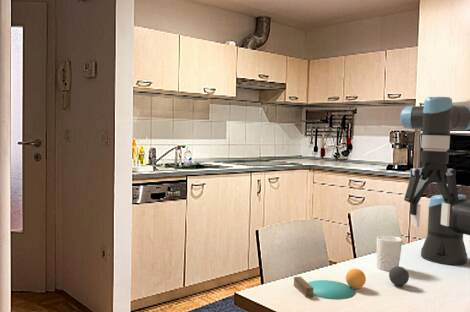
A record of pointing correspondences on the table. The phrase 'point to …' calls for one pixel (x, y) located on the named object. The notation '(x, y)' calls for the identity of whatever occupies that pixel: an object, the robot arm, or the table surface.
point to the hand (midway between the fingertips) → (430, 225)
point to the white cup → (388, 252)
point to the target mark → (331, 289)
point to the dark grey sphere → (399, 276)
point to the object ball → (355, 278)
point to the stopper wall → (303, 286)
